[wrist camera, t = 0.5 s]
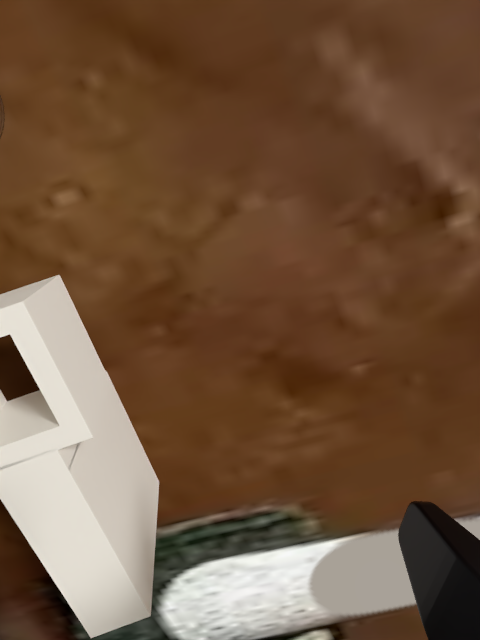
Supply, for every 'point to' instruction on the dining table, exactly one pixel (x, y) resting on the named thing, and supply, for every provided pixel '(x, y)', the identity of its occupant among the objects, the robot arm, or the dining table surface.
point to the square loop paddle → (76, 465)
